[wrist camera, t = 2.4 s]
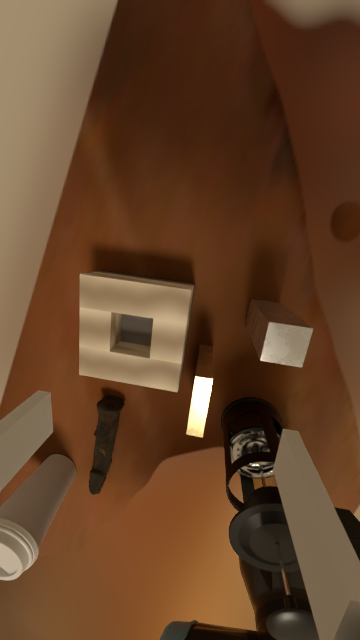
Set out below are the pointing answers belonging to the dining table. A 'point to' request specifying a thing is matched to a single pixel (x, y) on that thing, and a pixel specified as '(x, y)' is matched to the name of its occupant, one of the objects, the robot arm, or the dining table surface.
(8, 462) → the robot arm
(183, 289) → the bore block
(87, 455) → the dining table surface
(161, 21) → the dining table surface
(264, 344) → the square bit
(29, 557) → the coffee cup
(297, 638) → the french press
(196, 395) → the beige rectangular slab
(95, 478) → the hand tool
